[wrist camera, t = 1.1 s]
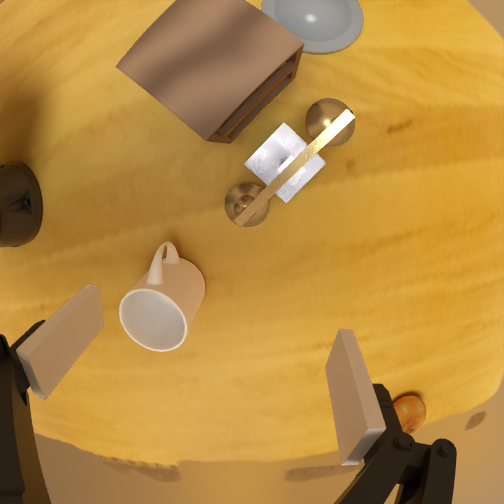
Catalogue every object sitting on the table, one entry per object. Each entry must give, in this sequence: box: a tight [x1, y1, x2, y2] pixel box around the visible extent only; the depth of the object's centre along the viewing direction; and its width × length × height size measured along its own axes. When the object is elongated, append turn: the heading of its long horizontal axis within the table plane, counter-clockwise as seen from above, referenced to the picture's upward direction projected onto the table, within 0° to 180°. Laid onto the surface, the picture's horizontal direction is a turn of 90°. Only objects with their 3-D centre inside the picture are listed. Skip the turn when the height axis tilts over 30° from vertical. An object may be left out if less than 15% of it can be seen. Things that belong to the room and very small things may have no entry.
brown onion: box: [393, 396, 426, 434], centre depth 45 cm, size 8×8×8 cm
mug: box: [119, 242, 205, 351], centre depth 37 cm, size 9×12×11 cm
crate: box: [115, 0, 304, 144], centre depth 26 cm, size 12×12×13 cm
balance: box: [225, 98, 355, 227], centre depth 28 cm, size 7×18×16 cm, turn 137°
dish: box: [262, 0, 363, 54], centre depth 28 cm, size 13×13×1 cm
